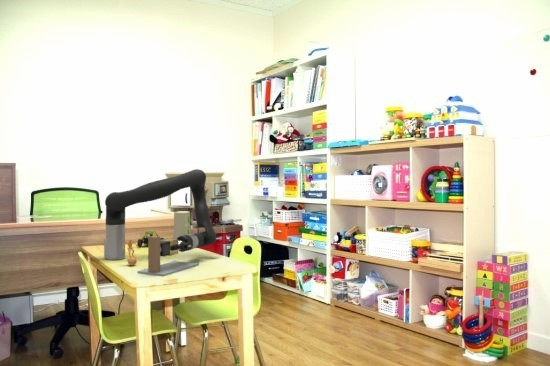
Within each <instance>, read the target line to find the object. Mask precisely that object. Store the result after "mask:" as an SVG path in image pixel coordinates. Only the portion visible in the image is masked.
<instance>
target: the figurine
mask: <svg viewBox="0 0 550 366" xmlns="http://www.w3.org/2000/svg"><path fill="white" fill-rule="evenodd" d="M133 244H134V245H136V247H137V248H138V249H140V247H138V245H137V243H136V242H134V241H133V240H132V239H129V240H128V241H125V244H124V245H125V246H126V245H127V246H128V247H127V250H128V251H127V252H128V256H129V258H128V260H127V264H128V265H129V266H132V267H133V266H135V265H136V264H137V263H138V262H137V261H138V259H137V258H136V257H135V256H134V253H135V249H134V246H133ZM124 245H123V248H124ZM123 250H124V249H122V251H123Z"/></svg>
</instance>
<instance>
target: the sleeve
mask: <svg viewBox="0 0 550 366" xmlns="http://www.w3.org/2000/svg"><path fill="white" fill-rule="evenodd" d="M160 241H164V242H170V255H168V256H170V257H171V256H175V255H178V254H179V251H178V250H174V251H171V246H173V245H177V244H178V239H174V238H164V239H163V240H160Z"/></svg>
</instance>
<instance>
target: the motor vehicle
mask: <svg viewBox="0 0 550 366" xmlns="http://www.w3.org/2000/svg"><path fill="white" fill-rule="evenodd" d="M154 233H155V234H154ZM151 236H158V237H160V235H159V234H158V232H156V231H155V230H146V231H145V233H144V234H143V236H142V238H138V239H137V243H136V244H137V245H138V247H139V248H142V247H143V244H144V245H148V237H151ZM163 239H165V238H164V237H160V240H163ZM138 247H137V248H138Z"/></svg>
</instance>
